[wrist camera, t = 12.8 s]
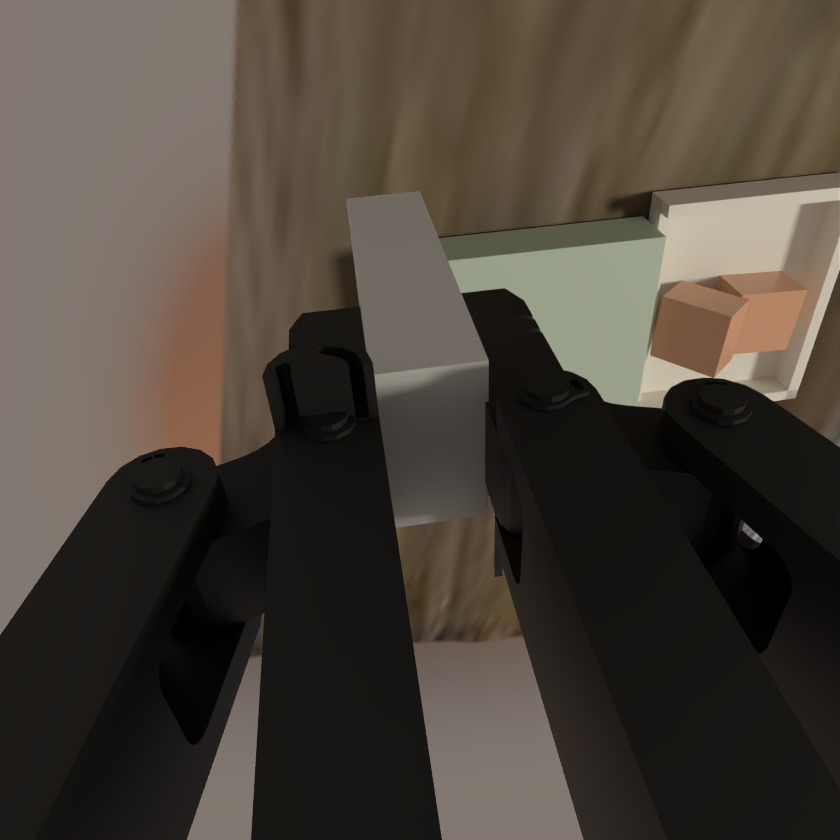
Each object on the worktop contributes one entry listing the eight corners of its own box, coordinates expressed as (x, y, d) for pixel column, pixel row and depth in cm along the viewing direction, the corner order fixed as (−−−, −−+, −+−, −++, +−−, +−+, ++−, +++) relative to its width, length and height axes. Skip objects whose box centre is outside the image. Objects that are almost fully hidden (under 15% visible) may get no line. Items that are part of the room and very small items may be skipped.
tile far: (807, 289, 44) (781, 270, 46) (742, 294, 43) (719, 275, 46) (786, 349, 46) (762, 328, 49) (724, 354, 46) (704, 333, 48)
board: (394, 243, 42) (400, 266, 39) (643, 216, 43) (666, 236, 40) (408, 410, 50) (414, 440, 47) (618, 384, 51) (636, 411, 48)
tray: (652, 192, 42) (669, 205, 40) (843, 172, 43) (868, 184, 41) (621, 399, 52) (633, 419, 50) (776, 380, 52) (795, 398, 51)
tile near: (682, 280, 45) (662, 296, 44) (749, 299, 43) (731, 316, 41) (669, 338, 48) (649, 355, 46) (731, 359, 46) (714, 378, 44)
